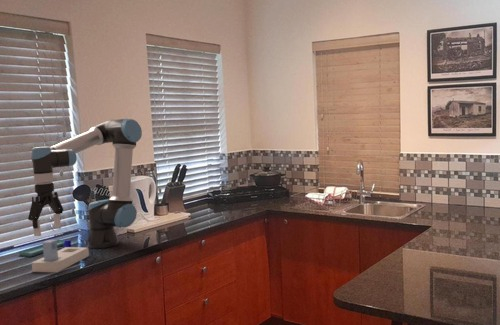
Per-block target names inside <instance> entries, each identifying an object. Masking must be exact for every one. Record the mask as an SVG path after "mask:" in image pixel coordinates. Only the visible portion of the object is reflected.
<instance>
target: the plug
mask: <svg viewBox="0 0 500 325" xmlns="http://www.w3.org/2000/svg"><path fill="white" fill-rule="evenodd" d="M57 240H58V239H47V240H45V241H43V242H42V245H43V252H44V253H43V257H44V261H50V262H53V261H55V260H57V259H58V248H57Z"/></svg>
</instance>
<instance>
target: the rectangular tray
mask: <svg viewBox="0 0 500 325" xmlns="http://www.w3.org/2000/svg"><path fill="white" fill-rule="evenodd" d="M56 240H57V249H59V248H62V247H63V246H64V243H65V240H66V239H56ZM17 253H18V254H19V255H20V256H22V257H30V258H31V257H34V256H37V255H41V254H44V252H43V244H40V245H37V246H34V247H30V248H26V249H23V250H20V251H17Z"/></svg>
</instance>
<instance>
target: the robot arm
mask: <svg viewBox="0 0 500 325" xmlns="http://www.w3.org/2000/svg"><path fill="white" fill-rule="evenodd" d="M142 132H143V130H142V127H141V125H140V124H139V122H138V121H137V120H135V119H133V118H121V119H120V118H119V119H111V120H110V119H109V120H107V121H104V122H102V123H99V124H97V125H94V126H92V127H91V128H89V130H88V131H86V132H85V131H84V132H83V133H81V134H78V135H76V136H73V137H71V138H69V139H67V140H63V141H62V142H59V143H57V144H55V145H51V146H36V147H33V148H32V150H31V156H30V158H31V159H30V160H31V163H32V170H33V178H34V180H33V181H34V183H35V184H34V192H35V193H36V194H37V196H32V197H31V205H30V208H29V213H28V214H29V215H28V218H27V219H28V220H27V221H32V228H33V236H34V237H41V236H42V232H41V230H42V229H41V221H40V220H39V218H40V217H41V213H42V211H43V209H44V207H45V206H47V205H48V206H49V207H50V208H51V210H52V211H53V213H54V214H53V223H54V229H56V230H57V229H58V230H59V229H62V224H61V222H62V221H61V218H62V217H61V214H63V212H64V207H63V206H62V203H61V201H60V199H59V194H58V192H57V191H55V184H54V174H53V173H54V172H53V169H56V168H63V167H64V168H65V167H68V168H69V167H71V166H74V165H75V164H76V163H77V160H78V159H77V154H79V153H81V152H82V151H85V150H87V149H89V148H91V147H94V146H101V145H103V144H108V143H112V146H113V148H114V163H113V177H112V178H113V180H112V192H111V197H109V198H107V199H102V200H101V199H100V200H96V201H93V202H90V203H89V204H88V211H87V212H88V220H89V228H90V230H89V232H90V233H89V236H88V240H87V248H88V249H89V248H91V249H105V248H112V247H114V246H117V245H118V244H119V237H118V235H117V233H116V230H115V228H116V227H117V228H128V227H130V226H132V224H134V223H135V221H136V218H137V215H138V213H137V208H136V206H135V205H133V199H132V198H131V185H132V184H131V180H132V168H133V155H134V154H133V151H134V149H135V148H136V147H137V142H139V141H140V140H141V138H142V136H143V133H142Z"/></svg>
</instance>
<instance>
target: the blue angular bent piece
mask: <svg viewBox="0 0 500 325" xmlns="http://www.w3.org/2000/svg"><path fill="white" fill-rule="evenodd" d="M64 240H65V243H64V246H62V247H61V249H63V248H65V247H72V242H71V240H70V239H64Z"/></svg>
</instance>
